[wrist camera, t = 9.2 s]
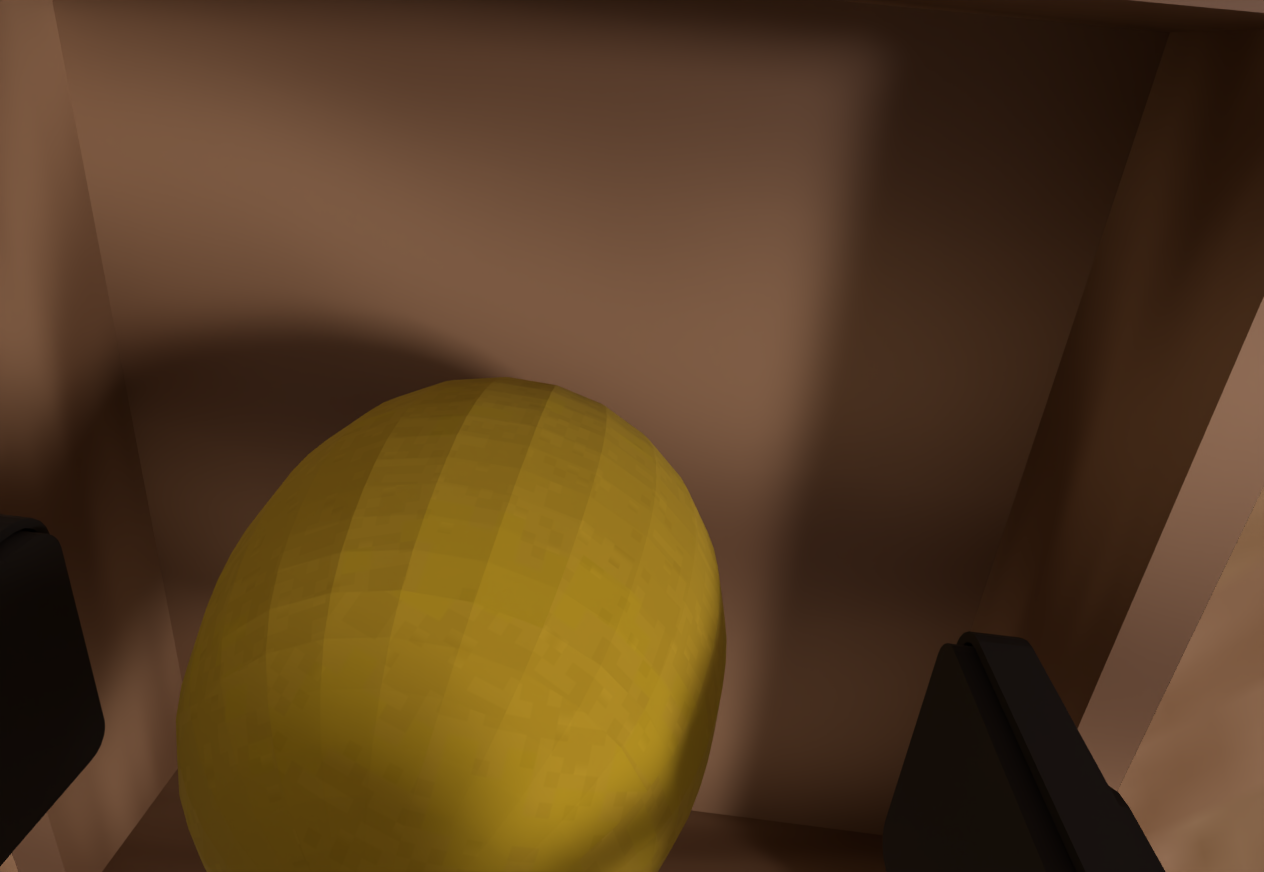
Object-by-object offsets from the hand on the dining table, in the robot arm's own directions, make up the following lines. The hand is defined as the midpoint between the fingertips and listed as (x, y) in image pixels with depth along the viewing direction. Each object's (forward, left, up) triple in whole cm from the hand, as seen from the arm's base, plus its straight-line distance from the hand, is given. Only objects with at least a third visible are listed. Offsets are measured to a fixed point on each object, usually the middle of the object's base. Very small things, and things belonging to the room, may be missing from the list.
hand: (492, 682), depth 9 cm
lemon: (0, 0, -5) cm, 5 cm away
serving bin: (0, 0, -5) cm, 5 cm away
